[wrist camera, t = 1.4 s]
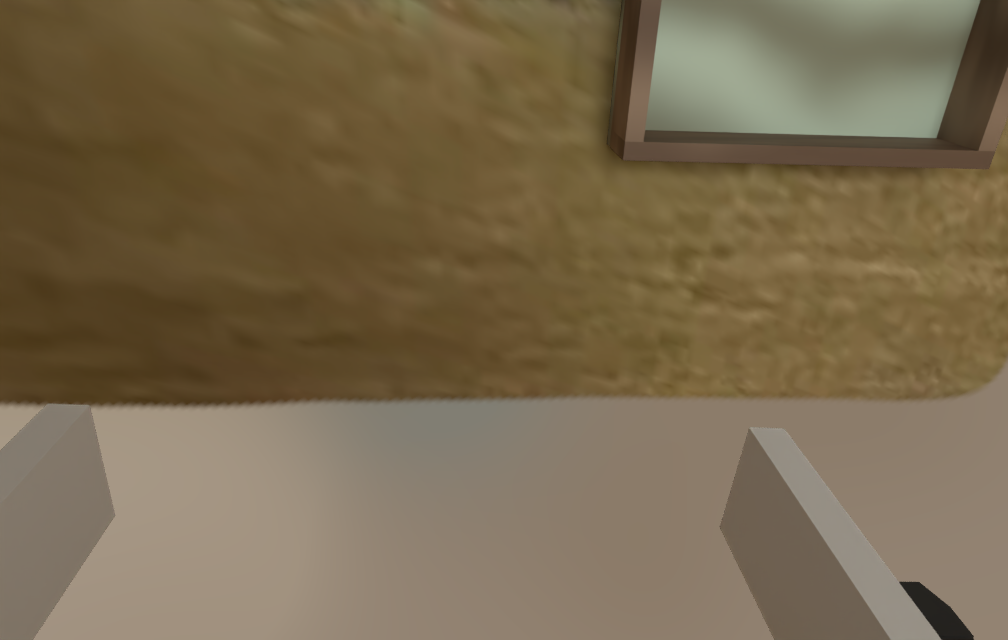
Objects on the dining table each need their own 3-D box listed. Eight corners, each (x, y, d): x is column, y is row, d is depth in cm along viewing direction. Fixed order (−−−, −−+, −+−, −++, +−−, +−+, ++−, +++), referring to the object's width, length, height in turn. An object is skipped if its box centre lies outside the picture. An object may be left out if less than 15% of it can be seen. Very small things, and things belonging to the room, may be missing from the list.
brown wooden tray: (636, -136, 27) (659, -153, 24) (1025, -114, 28) (1096, -127, 25) (606, 143, 32) (623, 160, 29) (938, 152, 33) (988, 169, 30)
